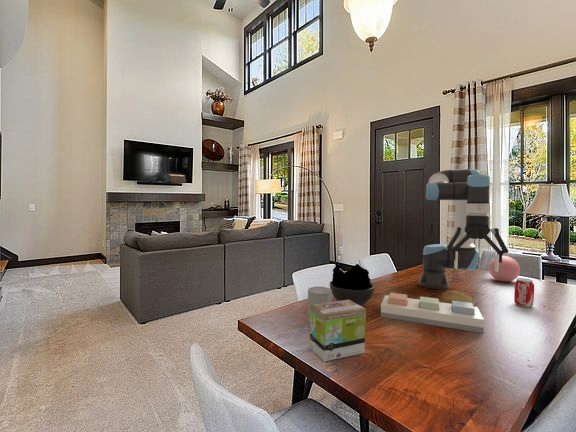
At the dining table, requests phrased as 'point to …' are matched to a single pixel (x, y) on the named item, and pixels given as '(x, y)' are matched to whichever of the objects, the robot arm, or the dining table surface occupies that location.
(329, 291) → the gray cylinder
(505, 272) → the balloon
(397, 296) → the button terracotta
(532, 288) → the soda can
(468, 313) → the button blue
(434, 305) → the button sage
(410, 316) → the console
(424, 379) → the dining table surface
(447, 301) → the bread roll
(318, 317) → the tea box
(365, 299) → the coal bowl
